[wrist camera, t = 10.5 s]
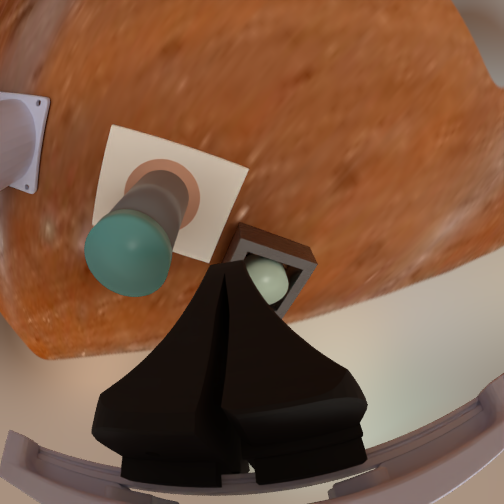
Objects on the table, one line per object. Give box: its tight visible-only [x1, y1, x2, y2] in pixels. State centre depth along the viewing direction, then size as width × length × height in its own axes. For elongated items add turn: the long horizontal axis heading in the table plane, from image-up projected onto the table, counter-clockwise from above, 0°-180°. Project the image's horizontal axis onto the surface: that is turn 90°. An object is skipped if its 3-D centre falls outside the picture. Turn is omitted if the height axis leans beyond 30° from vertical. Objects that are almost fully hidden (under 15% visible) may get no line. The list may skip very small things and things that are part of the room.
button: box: [243, 254, 288, 305], centre depth 21 cm, size 4×4×2 cm
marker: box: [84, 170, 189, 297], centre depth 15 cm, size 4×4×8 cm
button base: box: [222, 223, 318, 319], centre depth 21 cm, size 6×6×2 cm
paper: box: [92, 124, 249, 263], centre depth 18 cm, size 10×8×1 cm
